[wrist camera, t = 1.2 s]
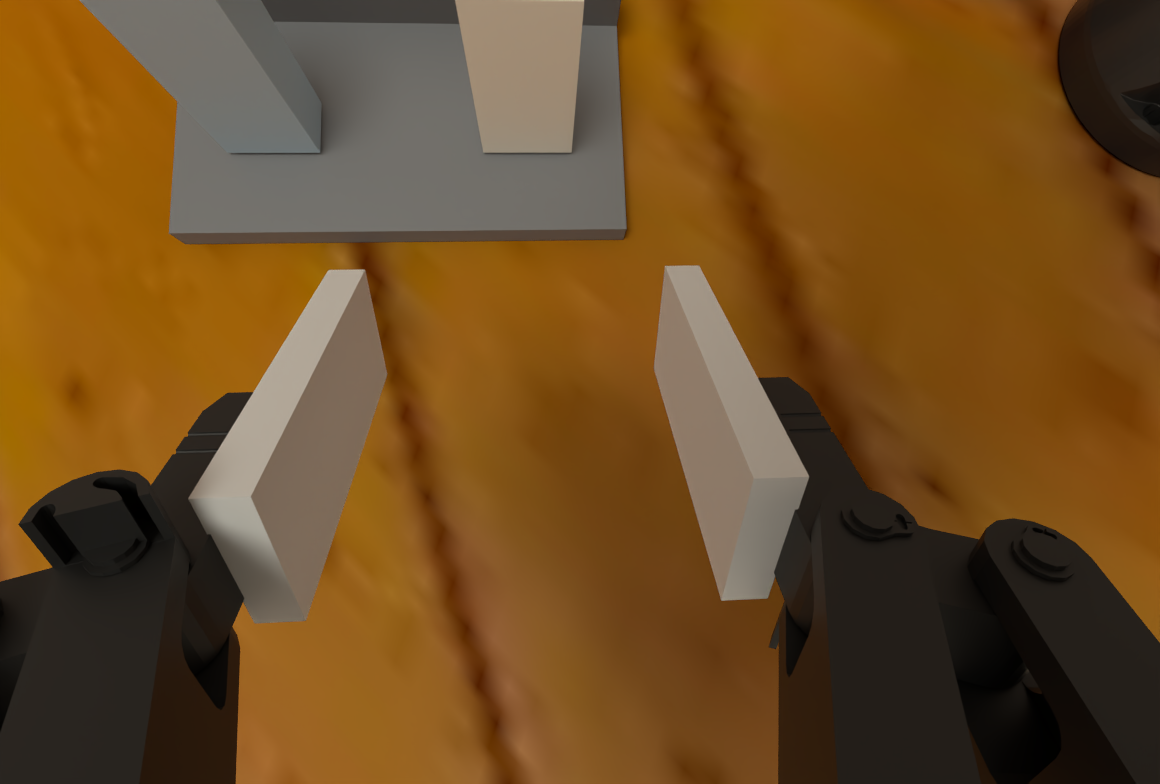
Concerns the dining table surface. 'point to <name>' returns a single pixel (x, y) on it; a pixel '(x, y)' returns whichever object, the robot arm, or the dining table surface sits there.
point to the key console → (405, 143)
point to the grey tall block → (222, 69)
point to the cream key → (523, 71)
